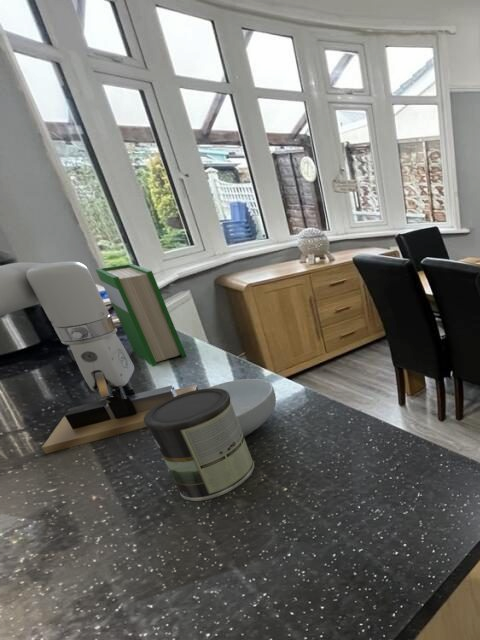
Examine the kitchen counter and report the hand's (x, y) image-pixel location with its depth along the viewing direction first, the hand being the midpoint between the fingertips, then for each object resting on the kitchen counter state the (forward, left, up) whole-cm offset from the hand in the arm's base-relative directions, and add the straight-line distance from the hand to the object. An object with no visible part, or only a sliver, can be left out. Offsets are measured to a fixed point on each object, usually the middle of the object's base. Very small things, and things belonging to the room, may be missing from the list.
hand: (128, 411), depth 81 cm
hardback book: (0, +38, -2) cm, 38 cm away
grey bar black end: (0, 0, 0) cm, 0 cm away
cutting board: (0, 0, -2) cm, 2 cm away
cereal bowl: (+18, -18, -2) cm, 25 cm away
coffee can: (+16, -32, -2) cm, 36 cm away
